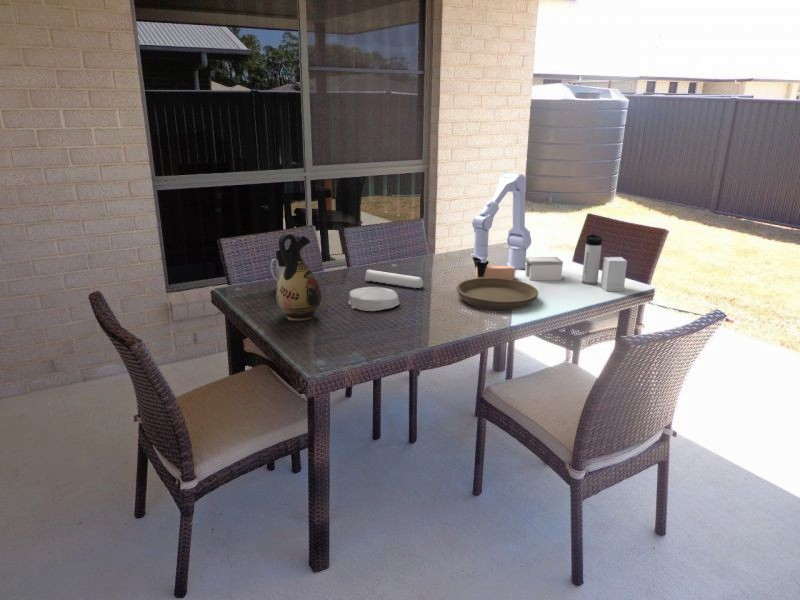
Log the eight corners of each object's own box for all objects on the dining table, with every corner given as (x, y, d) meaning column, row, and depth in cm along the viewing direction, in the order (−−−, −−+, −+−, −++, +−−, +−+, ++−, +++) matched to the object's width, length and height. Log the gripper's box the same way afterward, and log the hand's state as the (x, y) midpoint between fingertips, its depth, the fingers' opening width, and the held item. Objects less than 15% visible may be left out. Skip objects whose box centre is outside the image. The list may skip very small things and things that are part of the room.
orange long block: (475, 277, 262) (475, 266, 261) (511, 277, 263) (512, 265, 262) (477, 279, 258) (477, 268, 257) (514, 279, 259) (514, 268, 258)
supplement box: (624, 291, 243) (627, 261, 239) (605, 291, 243) (608, 260, 239) (618, 286, 250) (621, 256, 246) (600, 286, 250) (603, 256, 246)
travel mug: (595, 280, 258) (600, 234, 251) (598, 285, 251) (604, 237, 245) (580, 280, 258) (585, 234, 252) (583, 284, 252) (588, 237, 246)
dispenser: (522, 275, 266) (523, 257, 263) (555, 274, 267) (556, 257, 264) (527, 280, 258) (528, 262, 255) (561, 279, 259) (563, 261, 256)
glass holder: (302, 286, 247) (300, 250, 243) (282, 295, 235) (279, 258, 230) (284, 283, 251) (282, 248, 246) (263, 292, 238) (261, 255, 234)
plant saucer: (553, 300, 232) (554, 289, 231) (503, 318, 212) (504, 306, 211) (490, 283, 254) (490, 272, 252) (439, 298, 234) (439, 287, 232)
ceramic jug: (301, 307, 222) (297, 226, 213) (331, 316, 213) (328, 232, 204) (264, 318, 210) (258, 233, 200) (294, 329, 200) (289, 240, 191)
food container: (341, 299, 233) (340, 282, 230) (389, 293, 239) (389, 276, 237) (356, 316, 215) (356, 298, 213) (408, 309, 222) (408, 291, 219)
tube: (425, 277, 247) (372, 269, 258) (420, 276, 242) (366, 268, 253) (423, 290, 247) (370, 282, 258) (418, 289, 242) (364, 281, 253)
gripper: (468, 240, 262) (467, 270, 267) (474, 248, 249) (473, 279, 253) (484, 240, 263) (483, 270, 267) (491, 247, 249) (490, 279, 253)
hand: (479, 275), depth 260 cm, fingers open, 4 cm apart
